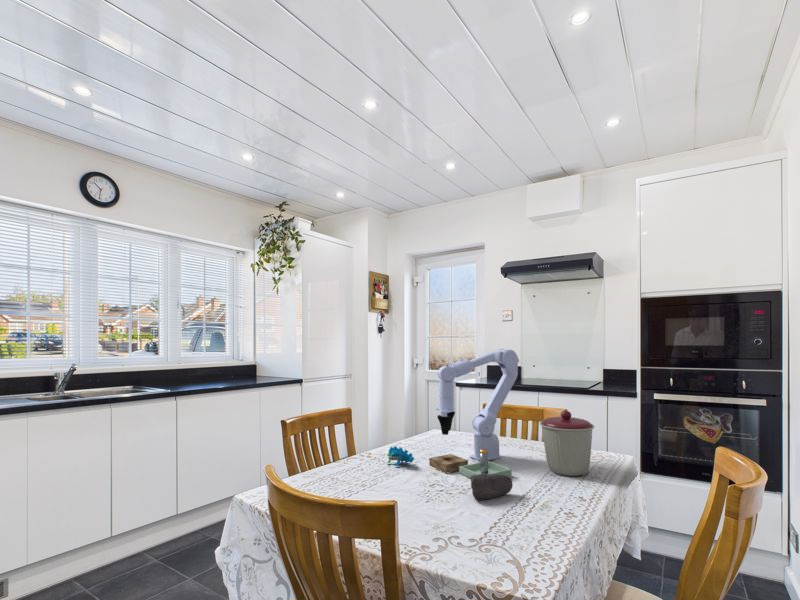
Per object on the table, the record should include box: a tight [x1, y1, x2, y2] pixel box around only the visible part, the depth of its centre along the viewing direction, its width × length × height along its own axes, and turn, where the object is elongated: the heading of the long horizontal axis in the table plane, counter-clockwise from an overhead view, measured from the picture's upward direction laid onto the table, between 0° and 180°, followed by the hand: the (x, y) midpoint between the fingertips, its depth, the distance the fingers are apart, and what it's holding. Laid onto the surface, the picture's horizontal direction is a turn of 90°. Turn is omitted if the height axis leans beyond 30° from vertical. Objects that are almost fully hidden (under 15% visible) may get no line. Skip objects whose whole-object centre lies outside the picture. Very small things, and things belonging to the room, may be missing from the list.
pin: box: [479, 449, 489, 475], centre depth 150 cm, size 3×3×8 cm
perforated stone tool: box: [470, 474, 513, 501], centre depth 130 cm, size 15×5×7 cm, turn 110°
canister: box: [539, 410, 595, 477], centre depth 153 cm, size 18×18×21 cm
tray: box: [458, 460, 512, 480], centre depth 150 cm, size 13×12×2 cm
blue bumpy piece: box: [387, 445, 415, 467], centre depth 162 cm, size 11×6×10 cm
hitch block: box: [428, 453, 469, 474], centre depth 159 cm, size 10×10×3 cm
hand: (446, 432), depth 170 cm, fingers open, 7 cm apart
